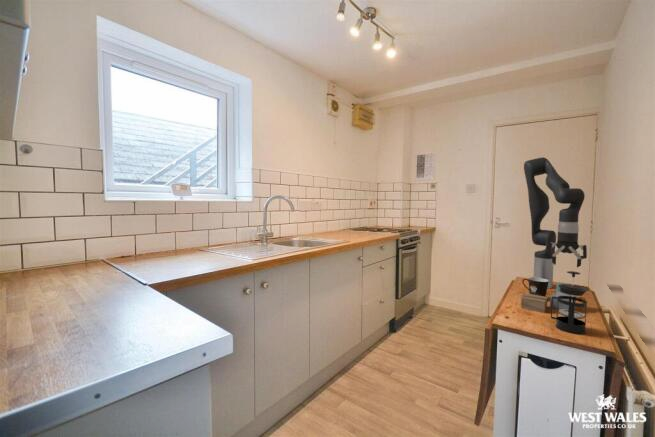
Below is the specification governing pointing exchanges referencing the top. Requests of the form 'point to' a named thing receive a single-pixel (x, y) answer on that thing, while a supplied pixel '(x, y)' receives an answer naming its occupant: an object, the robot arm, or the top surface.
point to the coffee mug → (537, 286)
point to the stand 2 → (560, 305)
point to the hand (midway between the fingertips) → (566, 265)
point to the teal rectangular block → (559, 290)
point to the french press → (571, 308)
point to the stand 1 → (534, 302)
